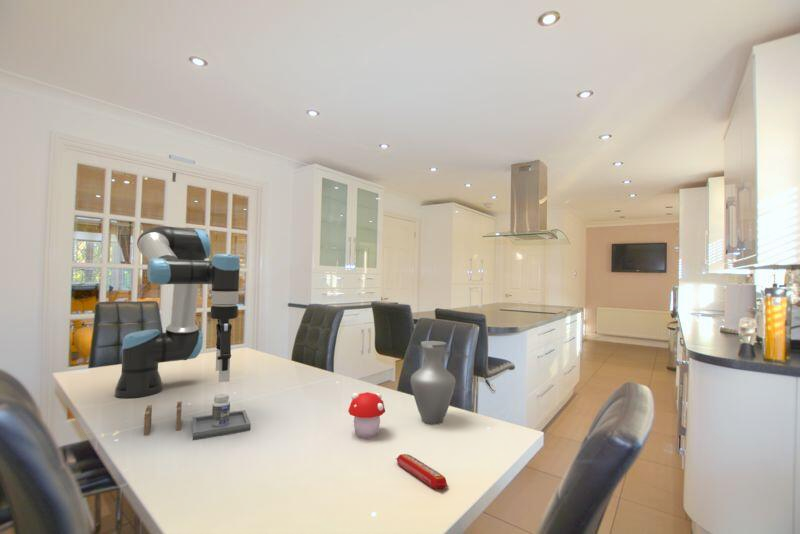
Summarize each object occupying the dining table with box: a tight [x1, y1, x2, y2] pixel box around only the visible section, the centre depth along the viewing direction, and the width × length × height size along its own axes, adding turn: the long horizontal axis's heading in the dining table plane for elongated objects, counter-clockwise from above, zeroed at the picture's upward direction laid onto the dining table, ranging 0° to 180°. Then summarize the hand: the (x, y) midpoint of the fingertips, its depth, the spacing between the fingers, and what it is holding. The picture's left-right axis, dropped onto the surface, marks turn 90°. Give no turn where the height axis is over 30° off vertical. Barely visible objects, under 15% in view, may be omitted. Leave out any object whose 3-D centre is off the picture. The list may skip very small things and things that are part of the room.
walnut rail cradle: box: [143, 401, 183, 436], centre depth 113 cm, size 8×9×6 cm
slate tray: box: [191, 409, 252, 441], centre depth 114 cm, size 13×15×2 cm
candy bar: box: [395, 453, 449, 489], centre depth 88 cm, size 16×4×3 cm, turn 36°
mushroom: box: [347, 391, 386, 439], centre depth 111 cm, size 11×11×12 cm
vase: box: [410, 340, 457, 425], centre depth 123 cm, size 14×14×25 cm
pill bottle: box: [211, 393, 231, 426], centre depth 114 cm, size 5×5×8 cm
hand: (222, 375), depth 115 cm, fingers open, 13 cm apart
